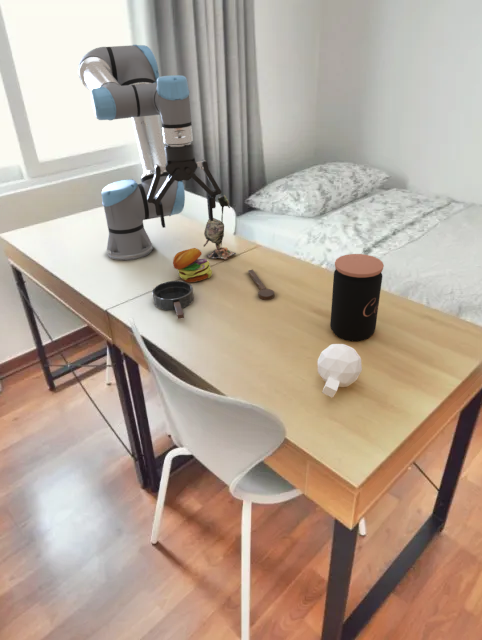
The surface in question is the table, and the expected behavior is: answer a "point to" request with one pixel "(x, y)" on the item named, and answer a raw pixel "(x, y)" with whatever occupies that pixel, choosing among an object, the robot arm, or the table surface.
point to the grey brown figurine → (217, 233)
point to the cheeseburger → (192, 265)
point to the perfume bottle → (338, 367)
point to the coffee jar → (355, 296)
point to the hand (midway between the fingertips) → (187, 222)
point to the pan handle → (178, 310)
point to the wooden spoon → (261, 287)
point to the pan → (173, 294)
